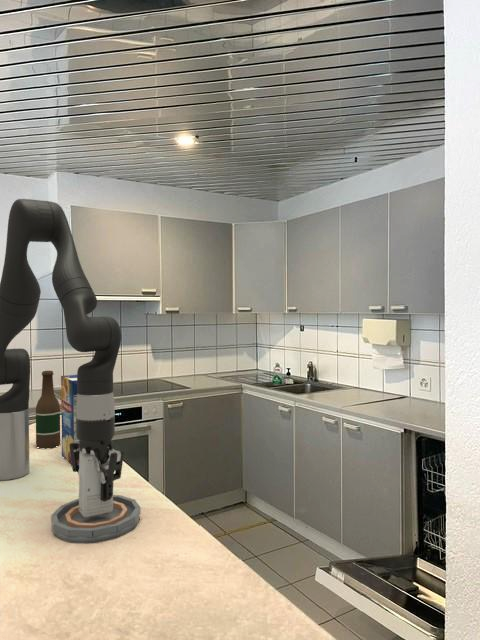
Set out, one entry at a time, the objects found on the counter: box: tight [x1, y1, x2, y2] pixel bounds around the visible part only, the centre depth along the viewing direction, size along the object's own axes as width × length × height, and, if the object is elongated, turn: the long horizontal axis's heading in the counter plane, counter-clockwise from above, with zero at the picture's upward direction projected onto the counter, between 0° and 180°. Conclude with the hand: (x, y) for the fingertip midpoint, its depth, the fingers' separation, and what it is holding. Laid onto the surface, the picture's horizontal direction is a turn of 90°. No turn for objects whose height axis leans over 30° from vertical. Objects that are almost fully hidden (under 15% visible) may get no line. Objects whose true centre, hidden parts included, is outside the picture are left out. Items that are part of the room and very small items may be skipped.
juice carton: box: [60, 374, 80, 466], centre depth 139 cm, size 12×8×24 cm, turn 35°
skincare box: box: [78, 452, 114, 518], centre depth 98 cm, size 6×4×12 cm
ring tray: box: [50, 494, 142, 544], centre depth 98 cm, size 17×17×2 cm
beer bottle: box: [35, 370, 61, 449], centre depth 153 cm, size 8×8×24 cm
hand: (96, 496), depth 98 cm, fingers closed on skincare box, 5 cm apart
